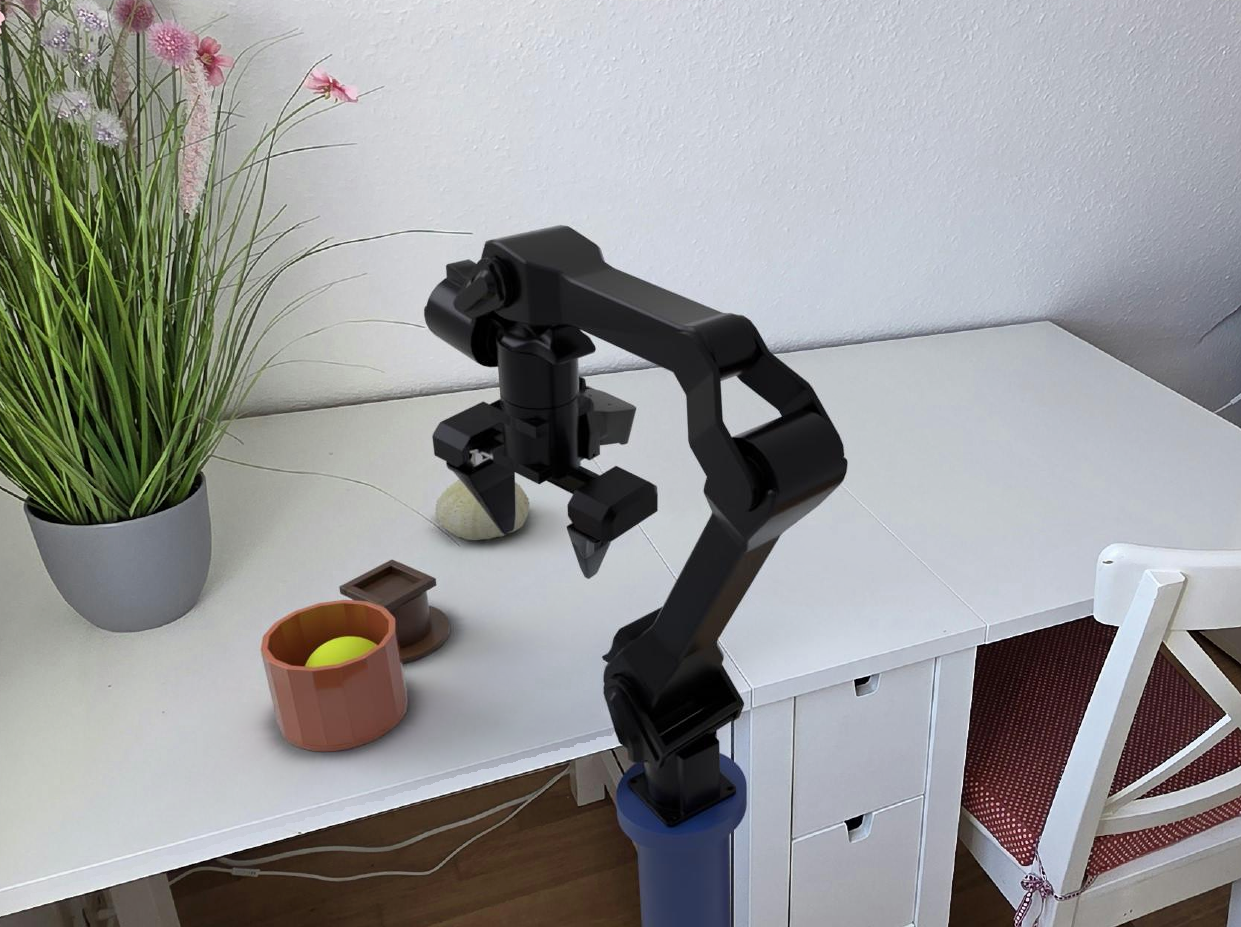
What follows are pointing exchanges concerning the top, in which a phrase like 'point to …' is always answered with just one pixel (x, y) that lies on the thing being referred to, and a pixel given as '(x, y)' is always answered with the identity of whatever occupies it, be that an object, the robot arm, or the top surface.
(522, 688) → the top surface
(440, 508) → the sea urchin shell
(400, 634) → the ball stand
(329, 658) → the tennis ball
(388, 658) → the terracotta pot
